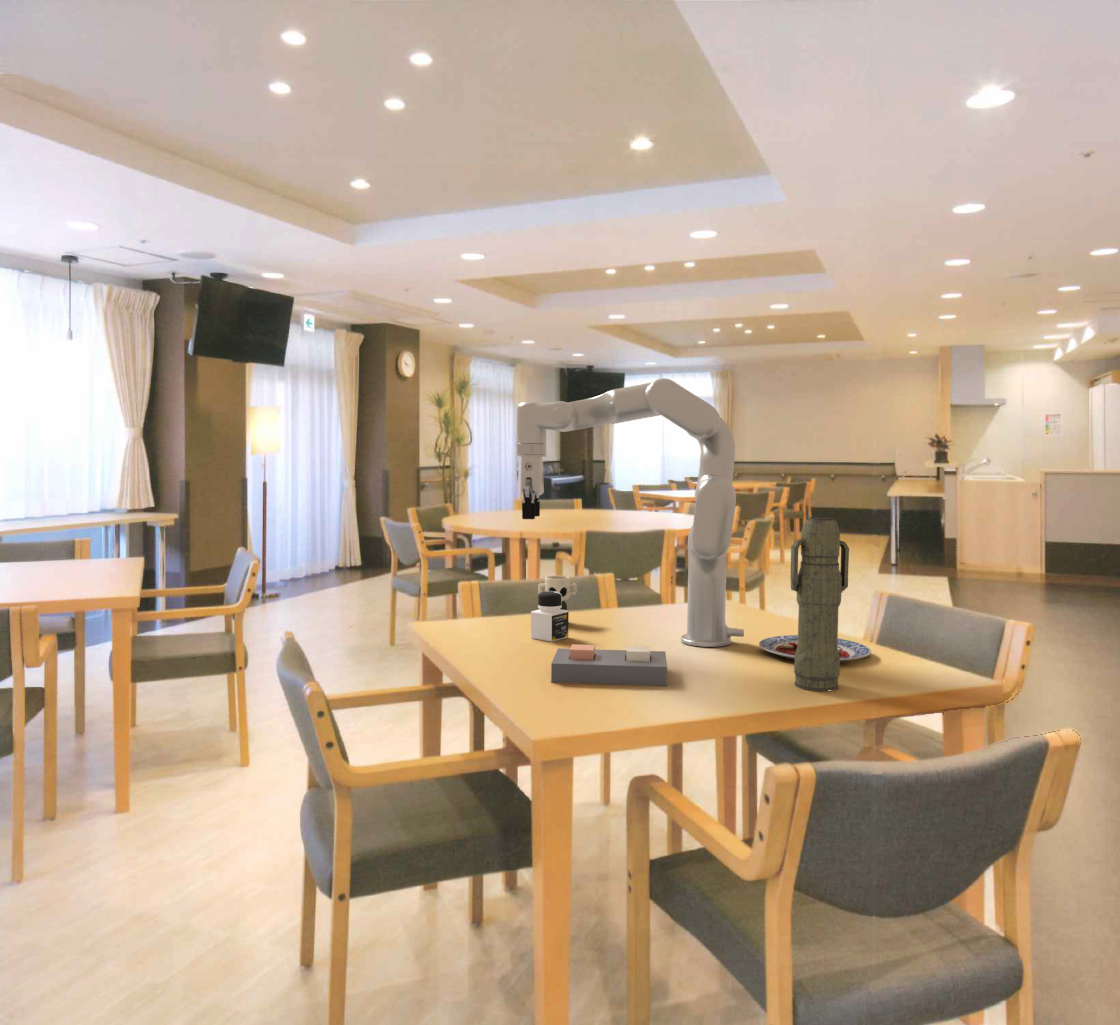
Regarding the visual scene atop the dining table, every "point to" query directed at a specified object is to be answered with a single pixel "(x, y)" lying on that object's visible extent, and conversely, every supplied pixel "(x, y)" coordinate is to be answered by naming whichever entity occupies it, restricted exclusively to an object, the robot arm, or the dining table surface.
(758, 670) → the dining table surface
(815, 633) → the thermos
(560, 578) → the character mug
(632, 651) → the ivory key
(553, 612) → the medicine bottle
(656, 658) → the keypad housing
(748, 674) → the dining table surface
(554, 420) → the robot arm
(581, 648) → the terracotta key
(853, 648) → the ceramic plate
